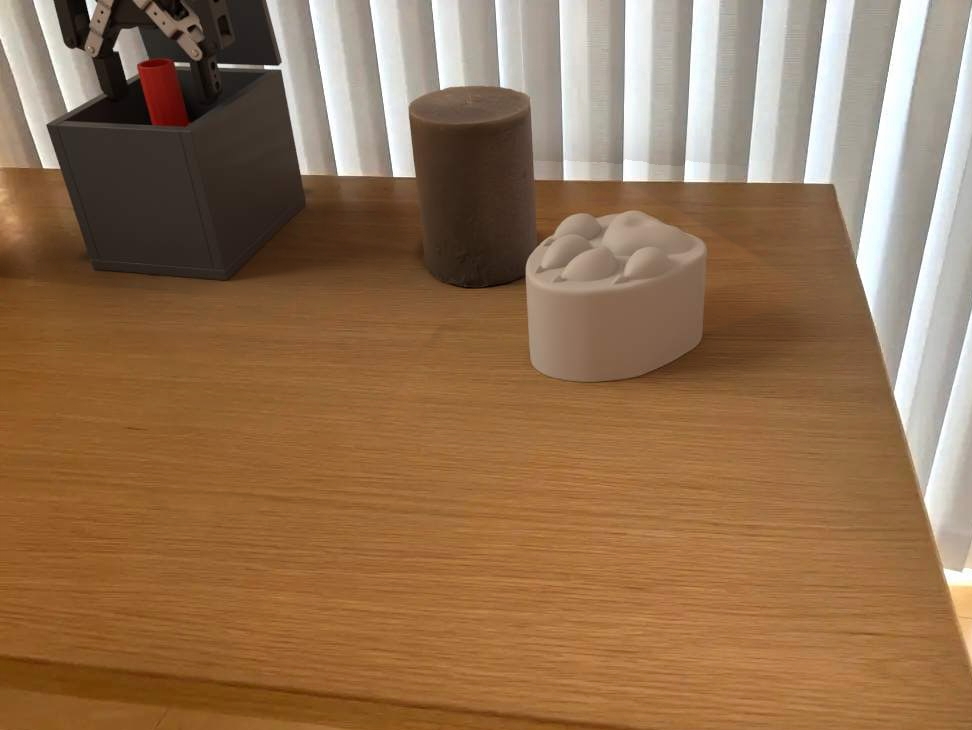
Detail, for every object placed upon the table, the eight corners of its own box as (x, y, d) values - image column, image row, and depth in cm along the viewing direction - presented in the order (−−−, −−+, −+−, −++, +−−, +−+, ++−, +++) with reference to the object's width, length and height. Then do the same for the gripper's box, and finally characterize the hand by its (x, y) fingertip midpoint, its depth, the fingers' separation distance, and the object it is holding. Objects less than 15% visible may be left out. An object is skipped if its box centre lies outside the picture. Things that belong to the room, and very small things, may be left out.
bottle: (151, 242, 90) (103, 72, 81) (185, 214, 94) (143, 51, 86) (211, 246, 88) (168, 75, 80) (242, 218, 93) (205, 53, 85)
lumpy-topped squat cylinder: (721, 337, 74) (729, 229, 70) (586, 403, 68) (584, 290, 63) (627, 287, 81) (628, 186, 76) (497, 343, 75) (488, 237, 70)
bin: (227, 281, 85) (190, 131, 78) (93, 269, 88) (45, 124, 81) (306, 204, 98) (281, 69, 90) (186, 196, 101) (153, 64, 93)
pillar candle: (455, 299, 81) (437, 116, 72) (408, 254, 88) (386, 82, 79) (560, 268, 85) (554, 90, 76) (506, 227, 92) (495, 60, 83)
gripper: (219, -122, 77) (261, 90, 86) (57, -120, 80) (115, 84, 89) (168, -106, 71) (218, 119, 80) (-5, -105, 74) (63, 112, 83)
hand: (164, 100), depth 85 cm, fingers open, 8 cm apart
